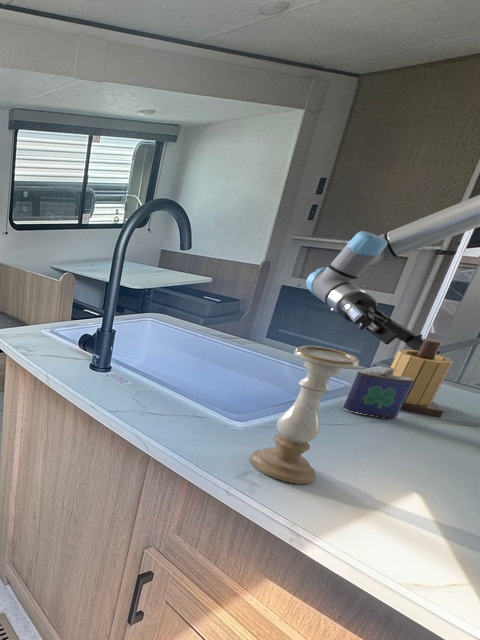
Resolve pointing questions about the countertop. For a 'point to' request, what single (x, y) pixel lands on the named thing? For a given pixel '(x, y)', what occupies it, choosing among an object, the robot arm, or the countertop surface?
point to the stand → (428, 352)
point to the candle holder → (302, 417)
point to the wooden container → (421, 375)
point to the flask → (378, 393)
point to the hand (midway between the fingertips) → (413, 348)
